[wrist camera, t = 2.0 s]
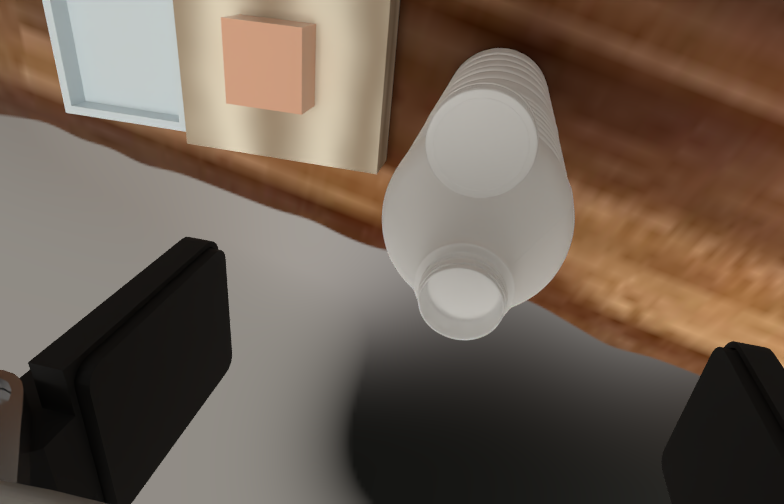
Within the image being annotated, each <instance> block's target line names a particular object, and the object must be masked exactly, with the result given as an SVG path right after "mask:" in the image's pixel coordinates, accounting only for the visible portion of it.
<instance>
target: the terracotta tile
mask: <svg viewBox="0 0 784 504" xmlns="http://www.w3.org/2000/svg"><path fill="white" fill-rule="evenodd" d="M221 29H222V45H223V61H224V77H225V93H226V104H233V105H240V106H246V107H253V108H260V109H267V110H273V111H280V112H287V113H293V114H300V115H302V114H303V113H305V112H306V111H308V110H309V109H311V108H312V107H314V106H315V57H316V24H314V23H306V22H298V21H290V20H282V19H274V18H266V17H258V16H250V15H241V14H238V15H232V16H226V17H221Z"/></svg>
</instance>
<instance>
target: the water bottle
mask: <svg viewBox="0 0 784 504" xmlns="http://www.w3.org/2000/svg"><path fill="white" fill-rule="evenodd" d="M574 222H575V213H574V202H573V193H572V189H571V186H570V184H569V181H568V179H567V172H566V170H565V164H564V159H563V156H562V151H561V146H560V142H559V136H558V129H557V126H556V122H555V117H554V114H553V108H552V104H551V100H550V95H549V91H548V86H547V83H546V80H545V77H544V75H543V73H542V71H541V70H540V68H539V67H538V66H537V65H536V63H535V62H534V61H533V60H531V59H530V58H529V57H528V56H526V55H524V54H523V53H520V52H518V51H516V50H512V49H507V48H493V49H488V50H484V51H481V52H479V53H477V54H475V55H473V56H472V57H470V58H469V59H467V60H466V61H465V62H464V63H463V64H462V65H461V66H460V67H459V68H458V70H457V71H456V73H455V74H454V76H453V77H452V79H451V81H450V83H449V84H448V86H447V88H446V89H445V91H444V93H443V94H442V96H441V97H440V99H439V101H438V102H437V104H436V105H435V107H434V109H433V110H432V112H431V113H430V115H429V117H428V119H427V121H426V123H425V125H424V126H423V128H422V130H421V131H420V133H419V135H418V136H417V138H416V139H415V141H414V143H413V144H412V146H411V148H410V149H409V151H408V153H407V154H406V156H405V157H404V158H403V159H402V161H401V162H400V164H399V165H398V167H397V169H396V170H395V172H394V174H393V176H392V178H391V180H390V182H389V185H388V187H387V190H386V194H385V198H384V202H383V210H382V229H383V236H384V241H385V245H386V249H387V252H388V256H389V258H390V260H391V261H392V263H393V265H394V266H395V268H396V270H397V271H398V273H399V274H400V275H401V276H402V278H403V279H404V280H405V281H406V283H407V284H408V285H409V286H410V287H411V288H413V289H414V291H415V295H416V298H417V300H418V307H419V311H420V313H421V315H422V317H423V319H424V320H425V322H426V323H427V324H428V325H429V326H430V327H431V328H432V329H433V330H435V331H436V332H438V333H439V334H441V335H443V336H446V337H449V338H452V339H457V340H472V339H477V338H480V337H483V336H485V335H487V334H489V333H490V332H491V331H493V330H494V329H495V328H496V327H497V326H498V325H499V323H500V321H501V320H502V318H503V316H504V315H505V314H506V313H507V312H508V310H509V309H510V308H511V307H514V306H516V305H519V304H521V303H523V302H525V301H526V300H528V299H530V298H531V297H533V296H534V295H536V294H537V293H538V292H539V291H541V290H542V289H543V288H544V287H545V286H546V285H547V284H548V283H549V282H550V281H551V280H552V278H553V277H554V276H555V275H556V273H557V272H558V270H559V269H560V267H561V265H562V264H563V262H564V260H565V258H566V256H567V253H568V251H569V248H570V245H571V241H572V237H573V232H574Z"/></svg>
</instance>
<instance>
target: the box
mask: <svg viewBox="0 0 784 504" xmlns="http://www.w3.org/2000/svg"><path fill="white" fill-rule="evenodd" d="M42 1H43V6H44V11H45V15H46V20H47V25H48V30H49V34H50V39H51V44H52V49H53V53H54V58H55V63H56V68H57V72H58V77H59V82H60V87H61V91H62V96H63V101H64V106H65V110H66V113H72V114H78V115H85V116H91V117H97V118H103V119H110V120H116V121H122V122H129V123H135V124H141V125H148V126H154V127H160V128H166V129H173V130H179V131H185V132H186V126H185V116H184V107H183V97H182V87H181V77H180V67H179V58H178V48H177V38H176V28H175V18H174V9H173V0H42Z"/></svg>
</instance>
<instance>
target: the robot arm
mask: <svg viewBox="0 0 784 504" xmlns="http://www.w3.org/2000/svg"><path fill="white" fill-rule="evenodd" d="M231 359H232V347H231V332H230V317H229V304H228V289H227V274H226V259H225V254H224V252H223V251H222V250H218V246H217V244H216V243H215V242H212V241H207V240H202V239H196V238H191V237H185V238H183V239H181V240H180V241H179V242H178V243H176V244H175V245H174V246H173V247H172V248H171V249H169V250H168V251H166V252H165V253H164V254H163V255H161V256H160V257H159V258H158V259H157V260H155V261H154V262H153V263H152V264H150V265H149V266H148V267H147V268H146V269H144V270H143V271H142V272H140V273H139V274H138V275H137V276H135V277H134V278H133V279H132V280H130V281H129V282H128V283H127V284H125V285H124V286H123V287H122V288H120V289H119V290H118V291H117V292H116V293H114V294H113V295H112V296H110V297H109V298H108V299H107V300H106V301H104V302H103V303H102V304H100V305H99V306H98V307H97V308H96V309H94V310H93V311H92V312H90V313H89V314H88V315H87V316H85V317H84V318H83V319H82V320H81V321H79V322H78V323H77V324H76V325H74V326H73V327H72V328H71V329H69V330H68V331H67V332H66V333H65V334H63V335H62V336H61V337H59V338H58V339H57V340H56V341H54V342H53V343H52V344H51V345H49V346H48V347H47V348H46V349H45V350H43V351H42V352H41V353H39V354H38V355H37V356H36V357H34V358H33V359H32V360H31V361H29V363H28V364H29V367H30V370H29V371H28V372H27V373H25V374H24V375H23V376H22V377H21V378H18V377H17V376H16V375H15V374H13V373H10V372H7V371H4V370H0V504H131V503H132V502H133V501H134V499H135V498H136V496H137V495H138V494H139V492H140V491H141V489H142V488H143V487H144V485H145V484H146V482H147V481H148V480H149V478H150V477H151V476H152V474H153V473H154V472H155V470H156V469H157V467H158V466H159V465H160V463H161V462H162V461H163V459H164V458H165V456H166V455H167V454H168V452H169V451H170V449H171V448H172V446H173V445H174V444H175V442H176V441H177V439H178V438H179V437H180V435H181V434H182V433H183V431H184V430H185V429H186V427H187V426H188V425H189V423H190V422H191V420H192V419H193V418H194V416H195V415H196V413H197V412H198V411H199V409H200V408H201V406H202V405H203V404H204V403H205V401H206V400H207V398H208V397H209V395H210V394H211V393H212V391H213V390H214V389H215V387H216V386H217V385H218V383H219V382H220V381H221V379H222V378H223V376H224V375H225V373H226V372H227V370H228V369H229V366H230V363H231ZM662 470H663V474H664V478H665V482H666V485H667V489H668V492H669V495H670V499H671V502H672V504H784V368H783V366H782V365H781V363H780V362H779V360H778V359H777V357H776V356H775V354H774V353H773V352H772V351H771V350H770V349H768V348H765V347H760V346H755V345H750V344H744V343H739V342H734V341H733V342H729V343H728V344H727V345H725V347H724V348H722V347H717V348H716V349H715V350H714V351H713V352H712V354H711V356H710V358H709V360H708V362H707V364H706V366H705V368H704V370H703V372H702V374H701V376H700V378H699V380H698V382H697V384H696V386H695V388H694V390H693V392H692V394H691V396H690V398H689V400H688V402H687V405H686V406H685V408H684V411H683V412H682V414H681V416H680V418H679V420H678V422H677V425H676V427H675V428H674V430H673V433H672V435H671V437H670V439H669V441H668V443H667V445H666V447H665V449H664V451H663V455H662Z"/></svg>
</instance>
